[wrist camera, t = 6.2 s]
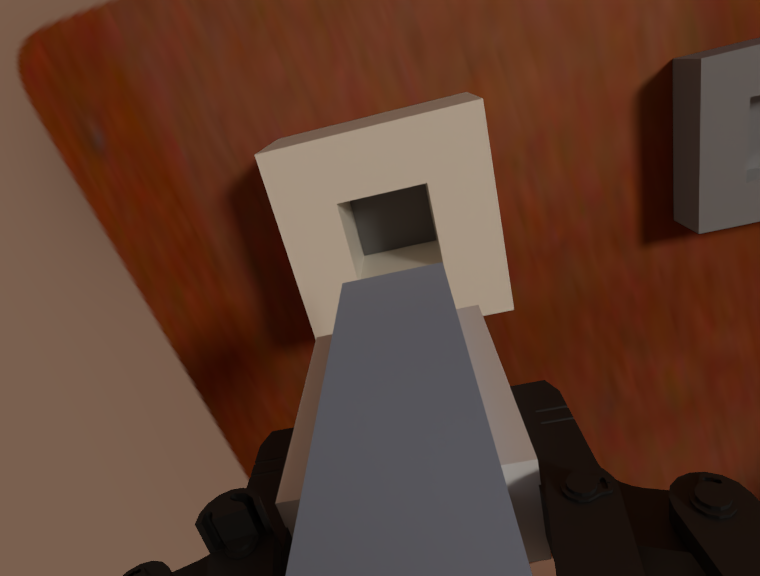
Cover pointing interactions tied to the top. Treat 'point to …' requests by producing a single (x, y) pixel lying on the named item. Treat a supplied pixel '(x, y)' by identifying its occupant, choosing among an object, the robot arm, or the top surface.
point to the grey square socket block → (717, 137)
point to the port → (391, 204)
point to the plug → (403, 445)
